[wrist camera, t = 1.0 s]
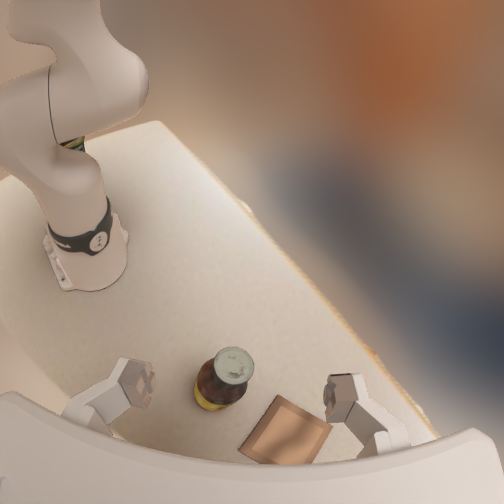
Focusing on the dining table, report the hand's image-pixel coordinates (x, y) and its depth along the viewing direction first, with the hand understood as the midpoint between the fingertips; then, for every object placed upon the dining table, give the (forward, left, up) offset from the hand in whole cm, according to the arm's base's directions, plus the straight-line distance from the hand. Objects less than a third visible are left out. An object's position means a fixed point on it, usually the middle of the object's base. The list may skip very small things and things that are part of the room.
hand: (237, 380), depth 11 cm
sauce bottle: (0, +4, -33) cm, 34 cm away
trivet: (+15, +4, -33) cm, 37 cm away
